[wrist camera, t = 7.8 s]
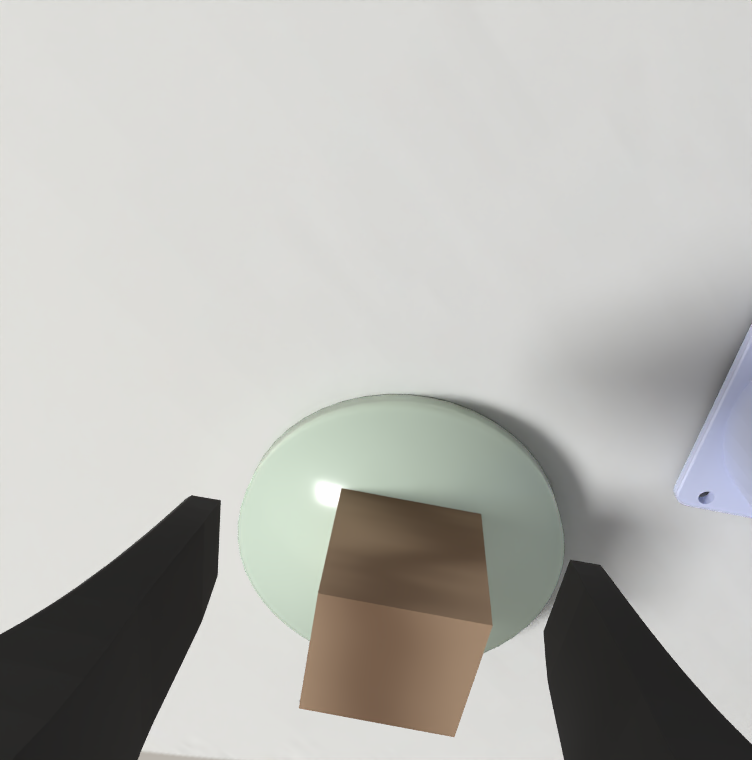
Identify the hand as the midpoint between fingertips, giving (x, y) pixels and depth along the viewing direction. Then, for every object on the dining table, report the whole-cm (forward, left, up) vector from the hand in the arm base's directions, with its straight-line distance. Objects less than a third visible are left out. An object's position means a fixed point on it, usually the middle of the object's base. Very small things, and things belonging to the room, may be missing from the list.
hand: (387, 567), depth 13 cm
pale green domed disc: (-1, +7, -9) cm, 12 cm away
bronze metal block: (-1, +7, -8) cm, 11 cm away
